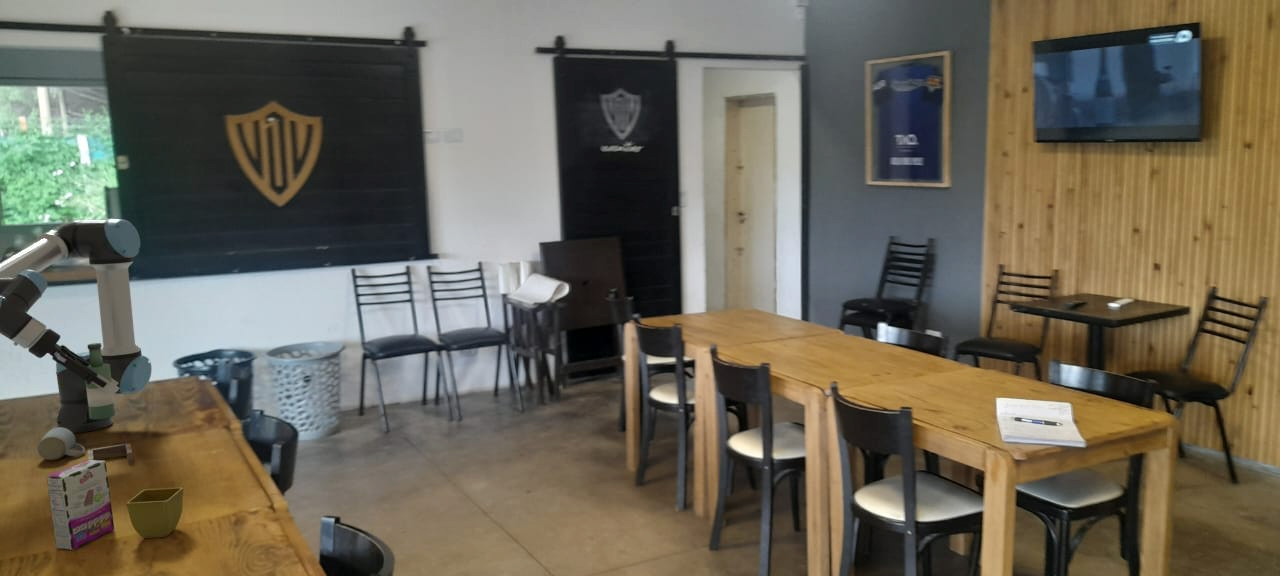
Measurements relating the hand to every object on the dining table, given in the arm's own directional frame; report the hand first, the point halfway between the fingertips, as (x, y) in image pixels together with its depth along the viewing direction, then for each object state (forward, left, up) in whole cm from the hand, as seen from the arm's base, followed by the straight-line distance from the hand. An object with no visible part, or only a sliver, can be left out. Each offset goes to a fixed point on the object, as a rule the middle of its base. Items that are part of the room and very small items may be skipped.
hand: (115, 389), depth 253 cm
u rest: (+1, -3, -20) cm, 20 cm away
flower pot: (+53, +35, -20) cm, 67 cm away
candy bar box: (+55, +20, -20) cm, 62 cm away
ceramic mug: (-5, -19, -20) cm, 29 cm away
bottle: (+2, -3, -7) cm, 8 cm away
